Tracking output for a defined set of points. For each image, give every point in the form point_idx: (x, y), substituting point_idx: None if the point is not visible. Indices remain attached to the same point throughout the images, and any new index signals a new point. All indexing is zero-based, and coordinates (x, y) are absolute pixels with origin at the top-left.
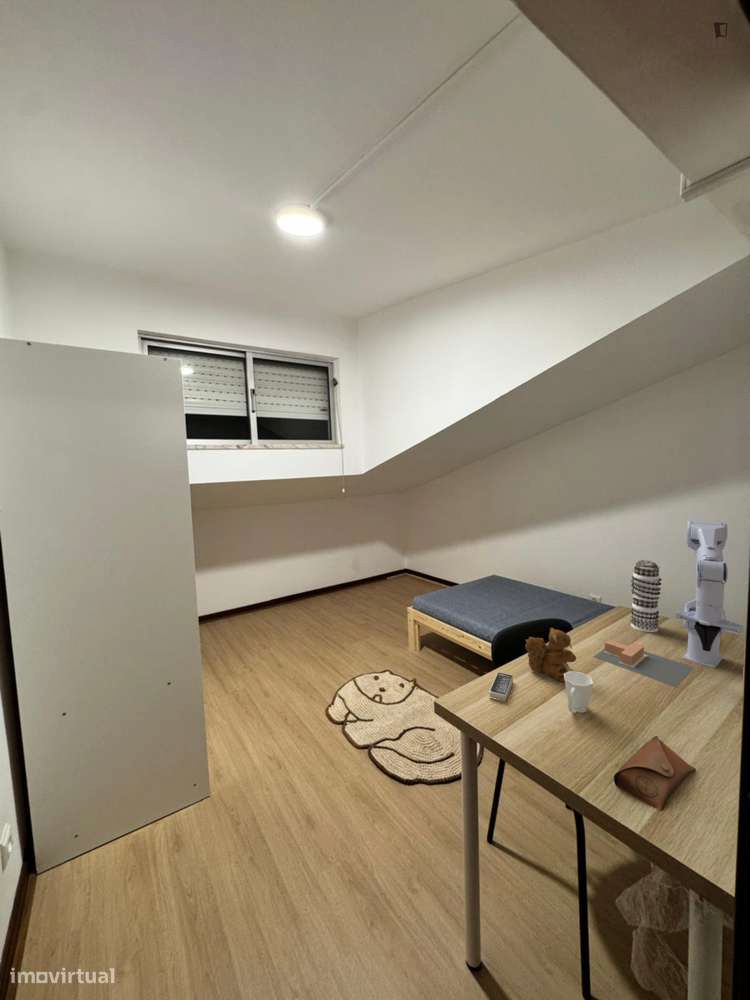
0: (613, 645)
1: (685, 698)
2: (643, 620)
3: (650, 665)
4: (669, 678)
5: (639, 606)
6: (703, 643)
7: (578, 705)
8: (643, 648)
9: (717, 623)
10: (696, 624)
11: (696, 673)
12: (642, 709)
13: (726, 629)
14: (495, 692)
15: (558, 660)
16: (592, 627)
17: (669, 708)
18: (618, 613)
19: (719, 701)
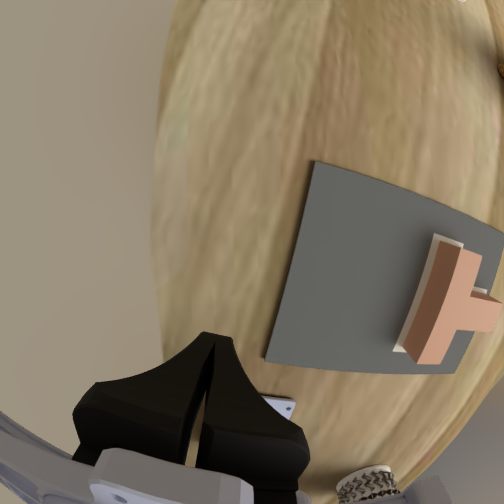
0: (490, 300)
1: (283, 107)
2: (377, 488)
3: (391, 285)
4: (338, 219)
5: None
6: (226, 356)
7: None
8: (415, 356)
9: (36, 480)
10: (285, 485)
11: (256, 328)
12: (368, 3)
13: (40, 442)
14: None
15: None
16: (471, 408)
17: (316, 29)
18: (398, 490)
19: (187, 157)
